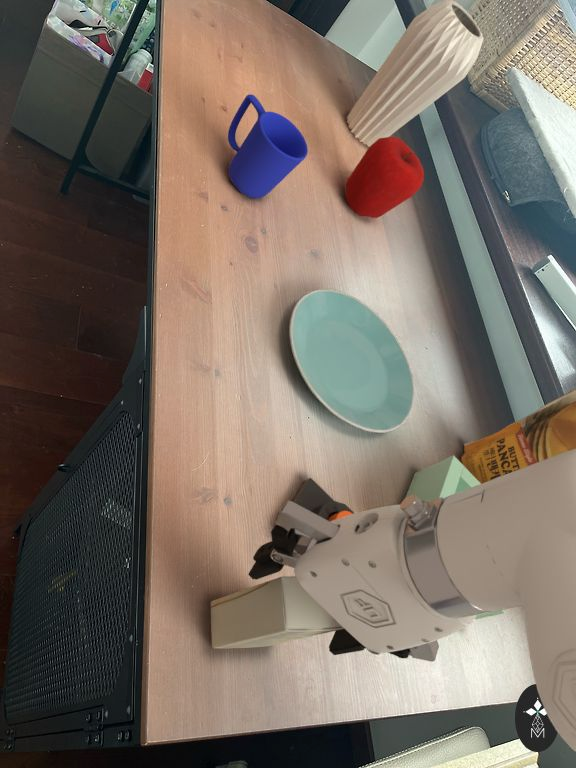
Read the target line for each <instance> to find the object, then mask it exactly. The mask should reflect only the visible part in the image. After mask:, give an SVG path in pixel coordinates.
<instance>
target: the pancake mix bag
mask: <svg viewBox="0 0 576 768" xmlns="http://www.w3.org/2000/svg"><path fill="white" fill-rule="evenodd" d="M574 449H576V388H574V389H572V390H570V391H568V392H566V393H565V394H563V395H561V396H559V397H557V398H556V399H554V400H551V401H550V402H548V403H546V404H544V405H542V406H541V407H539V408H538V409H537V410H535V411H534V412H531V413H530V414H528V415H525V416H524V417H522V418H521V419H518V420H517V421H514V422H512V423H510V424H508V425H507V426H505V427H504V428H502V429H500V430H499V431H497V432H494V433H493V434H490V435H487V436H485V437H482V438H480V439H476V440H474V441H469V442H464V443H463V450H464V452H463V454H462V455H461V456H460V462H461V463H462V464H463V466H464V467H465V468H466V469H467V470H468V471H469V472H470V473H471V474H472V475H473V476H474V477H475V478H476V479H477V480H478V481H479V482H480V483H481V484H482V483H485V482H488V481H490V480H493V479H495V478H498V477H500V476H503V475H506V474H508V473H511V472H514V471H516V470H519V469H522V468H524V467H527V466H530V465H532V464H535V463H538V462H540V461H543V460H546V459H548V458H551V457H554V456H556V455H559V454H562V453H564V452H567V451H570V450H574Z"/></svg>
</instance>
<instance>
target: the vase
mask: <svg viewBox="0 0 576 768" xmlns="http://www.w3.org/2000/svg"><path fill="white" fill-rule="evenodd" d="M483 35H484V34H483V32H482V31H481V28H480V27H479V26H478V24H477V22H476V20H474V19H473V16H472V15H470V14H469V12H468V11H467V9H465V8H464V7H463V6H462V4H459V3H458V2H457V1H456V0H443V1H440V2H438V3H436V4H433V5H431V6H430V7H427V8H426V9H425V10H423V11H422V12H420V13H419V14H418V15H415V17H414V18H413V19H412V21H411V22H410V24H409V25H408V27H407V28H406V29H405V30H404V32H403V34H401V37H400V38H399V40H398V41H397V43H396V44H395V46H394V47H393V48H392V50H391V52H390V53H389V54H388V55H387V57H386V59H385V60H384V61H383V63H382V64H381V66H380V68H379V69H378V70H377V72H376V73H375V75H374V76H373V77H372V79H371V80H370V82H369V84H368V85H367V87H366V88H365V90H364V91H363V92H362V94H361V95H360V97H359V98H358V100H357V101H356V103H355V104H354V106H353V107H352V109H351V110H350V112H349V113H348V115H347V116H346V120H347V121H346V123H347V125H348V126H347V128H349V130H350V133H352V134H353V135H354V137H355V138H356V139H358V141H359V143H361V142H362V144H363V145H364V146H367V147H368V148H369V147H370V146H371V145H372V144H373V143H375V142H376V141H377V140H378V139H379V138H386V137H391V136H392V135H393V134H395V133H396V132H397V131H398V130H400V129H401V128H403V126H405V125H406V124H407V123H409V122H410V121H411V120H413V119H414V118H415V117H417V116H418V115H419V114H420V113H421V112H423V111H424V110H426V108H429V106H430V105H432V104H433V103H435V102H436V101H437V100H438V99H440V98H441V97H442V96H443V95H445V94H446V93H447V92H448V91H450V90H451V89H453V88H454V87H455V86H456V85H458V84H459V83H460V82H462V81H463V80H464V79H465V78H466V76H467V75H468V73H469V72H470V71H471V69H472V67H473V66H474V65H475V63H476V61H477V60H478V57H479V54H480V53H481V48H482V46H483V43H484V39H485V38H484V36H483Z"/></svg>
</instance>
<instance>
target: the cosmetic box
mask: <svg viewBox="0 0 576 768" xmlns="http://www.w3.org/2000/svg"><path fill="white" fill-rule="evenodd" d="M341 629H344V628H343V627H342V626H341V625H340V624H339V623H338V622H337V621H336V620H335V619H334V618H333V617H332V616H331V615H330V614H329V613H328V612H327V611H326V610H325V609H323V608H322V607H321V606H320V605H319V604H318V603H317V602H316V601H315V600H314V599H313V598H312V597H311V596H310V595H309V594H308V593H307V592H306V591H305V590H304V589H303V587H302V586H301V585H300V583H299V582H298V580H297V578H296V576H295V575H284V576H283V575H281V576H278V577H276V578H273V579H271V580H270V579H269V580H267V581H265V582H262V583H259V584H256V585H253V586H250V587H248V588H244V589H241V590H239V591H236V592H233V593H230V594H227V595H225V596H222V597H220V598H216V599H213V600H211V601H210V630H211V631H210V632H211V633H210V634H211V635H210V636H211V647H212V648H213V649H248V648H265V647H269V646H274V645H278V644H282V643H287V642H292V641H295V640H296V641H297V640H300V639H306V638H309V637H314V636H319V635H324V634H328V633H332V632H335V631H337V630H341Z"/></svg>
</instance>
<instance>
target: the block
mask: <svg viewBox="0 0 576 768" xmlns="http://www.w3.org/2000/svg"><path fill="white" fill-rule="evenodd" d="M291 501H292V502H294V503H296V504H298V505H300V506H302V507H303V508H305V509H307V510H309V511H311V512H313V513H315V514H317V515H318V516H320V517H322V518H324V519H326V520H328V518H329V517H330V516H332V515H334V514H337V513H339V512H341V511H349V512H351V513H352V514H354V513H355V512H354V511H353V510H352V509H351V508H350V507H349V506H348V505H347V504H345V503H343V502H341V501H336V500H335V499H333V498H332V497H331V496H330V495H329V494H328V493H327V492H326V491H325V490H324V489H323V488H322V487H321V485H318V484H317V482H316V481H315V480H314V479H313V478H312V477H309V478H306V479H305V480H304V481H303V483H302V484H301V486H300V488H298V491H297V492H296V494H295V496H294V498H293V500H291ZM306 548H307V546H303V545H300V544H296V547H295V549H294V551H296V553H297V554H301V555H303V554H304V552H305V550H306Z"/></svg>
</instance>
